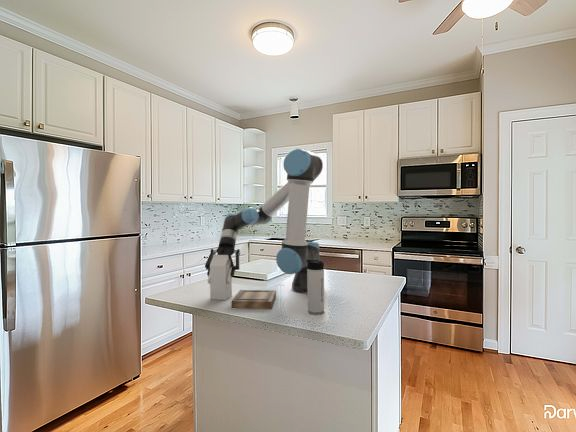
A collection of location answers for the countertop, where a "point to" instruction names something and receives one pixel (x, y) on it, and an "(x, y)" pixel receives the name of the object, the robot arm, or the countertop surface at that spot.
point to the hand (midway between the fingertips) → (218, 282)
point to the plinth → (254, 299)
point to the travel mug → (315, 287)
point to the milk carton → (220, 278)
